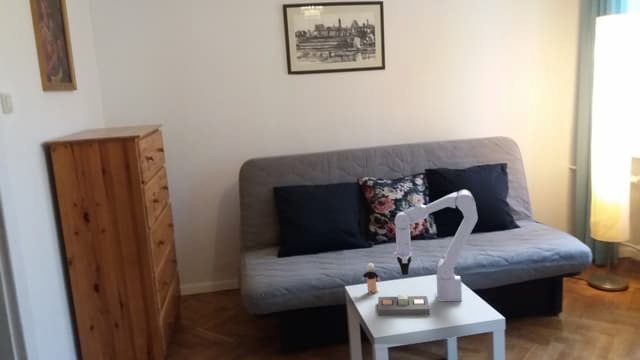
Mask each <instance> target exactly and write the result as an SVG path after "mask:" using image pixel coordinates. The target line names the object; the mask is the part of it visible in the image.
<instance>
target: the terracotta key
mask: <svg viewBox="0 0 640 360" xmlns="http://www.w3.org/2000/svg"><path fill="white" fill-rule="evenodd" d="M383 305H392V300H383Z"/></svg>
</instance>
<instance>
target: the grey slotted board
mask: <svg viewBox="0 0 640 360" xmlns="http://www.w3.org/2000/svg"><path fill="white" fill-rule="evenodd" d="M407 296H408V305H398V296H378V298H377V299H378V304H377V309H378V310H377V312H378V317H391V316H392V317H393V316H394V317H395V316H397V317H399V316H430V315H431V310H430V305H429V299H428V295H417V296H416V295H413V296H411V295H410V296H409V295H407ZM417 299H423V301H424V305H414V300H417ZM383 300H392V305H383Z"/></svg>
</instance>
